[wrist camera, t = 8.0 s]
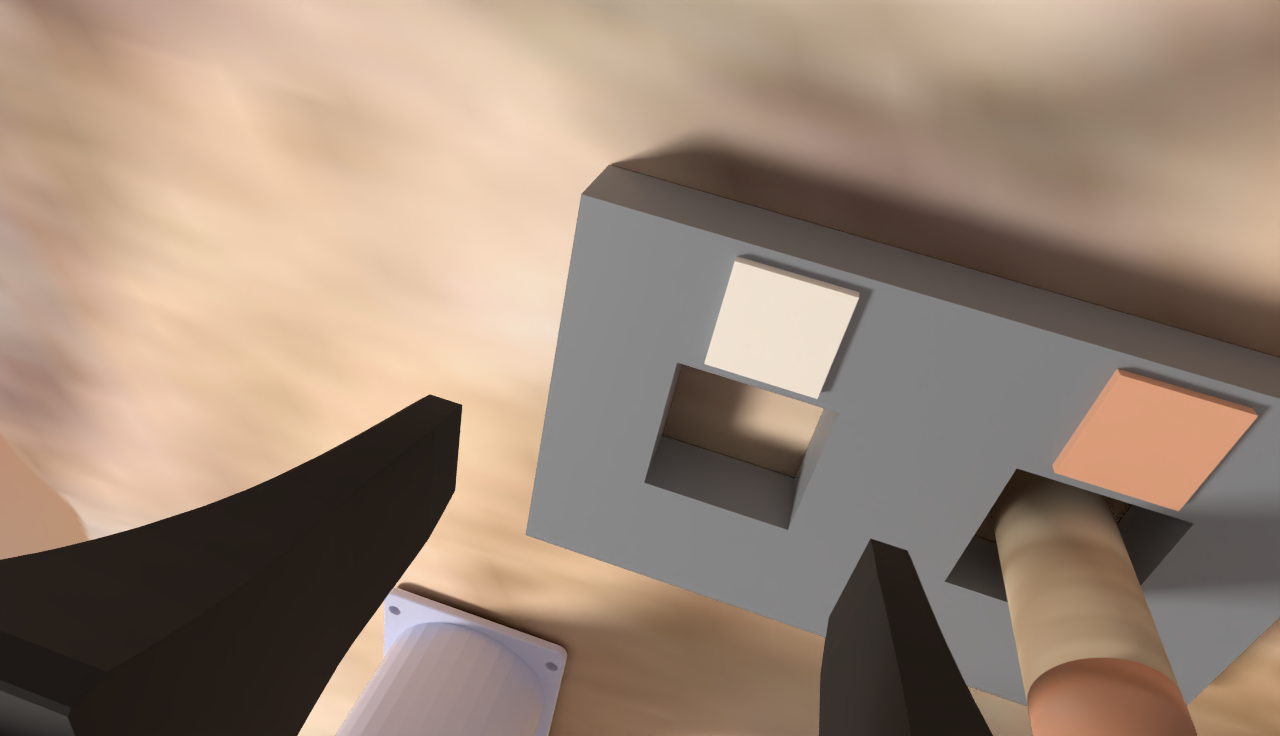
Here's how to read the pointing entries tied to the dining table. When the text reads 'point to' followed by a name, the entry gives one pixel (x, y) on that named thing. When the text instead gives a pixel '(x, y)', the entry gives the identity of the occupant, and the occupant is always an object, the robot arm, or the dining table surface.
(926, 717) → the robot arm
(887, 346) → the socket board
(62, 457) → the dining table surface
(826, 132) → the dining table surface
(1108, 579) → the plug
